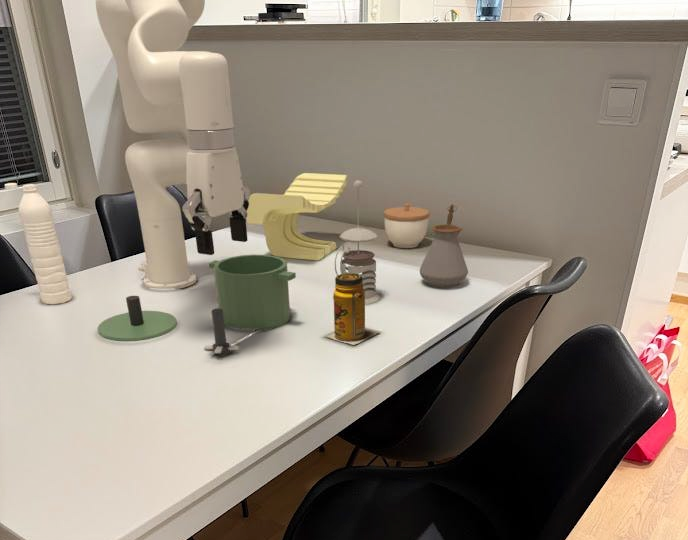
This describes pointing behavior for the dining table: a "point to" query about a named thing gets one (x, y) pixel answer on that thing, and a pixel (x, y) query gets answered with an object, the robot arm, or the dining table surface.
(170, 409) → the dining table surface
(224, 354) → the blade
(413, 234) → the lidded bowl
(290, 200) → the slatted curved stool
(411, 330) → the dining table surface
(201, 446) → the dining table surface
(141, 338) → the lid
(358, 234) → the french press
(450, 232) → the coffee pot
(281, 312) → the chamber
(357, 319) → the condiment
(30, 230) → the water bottle
